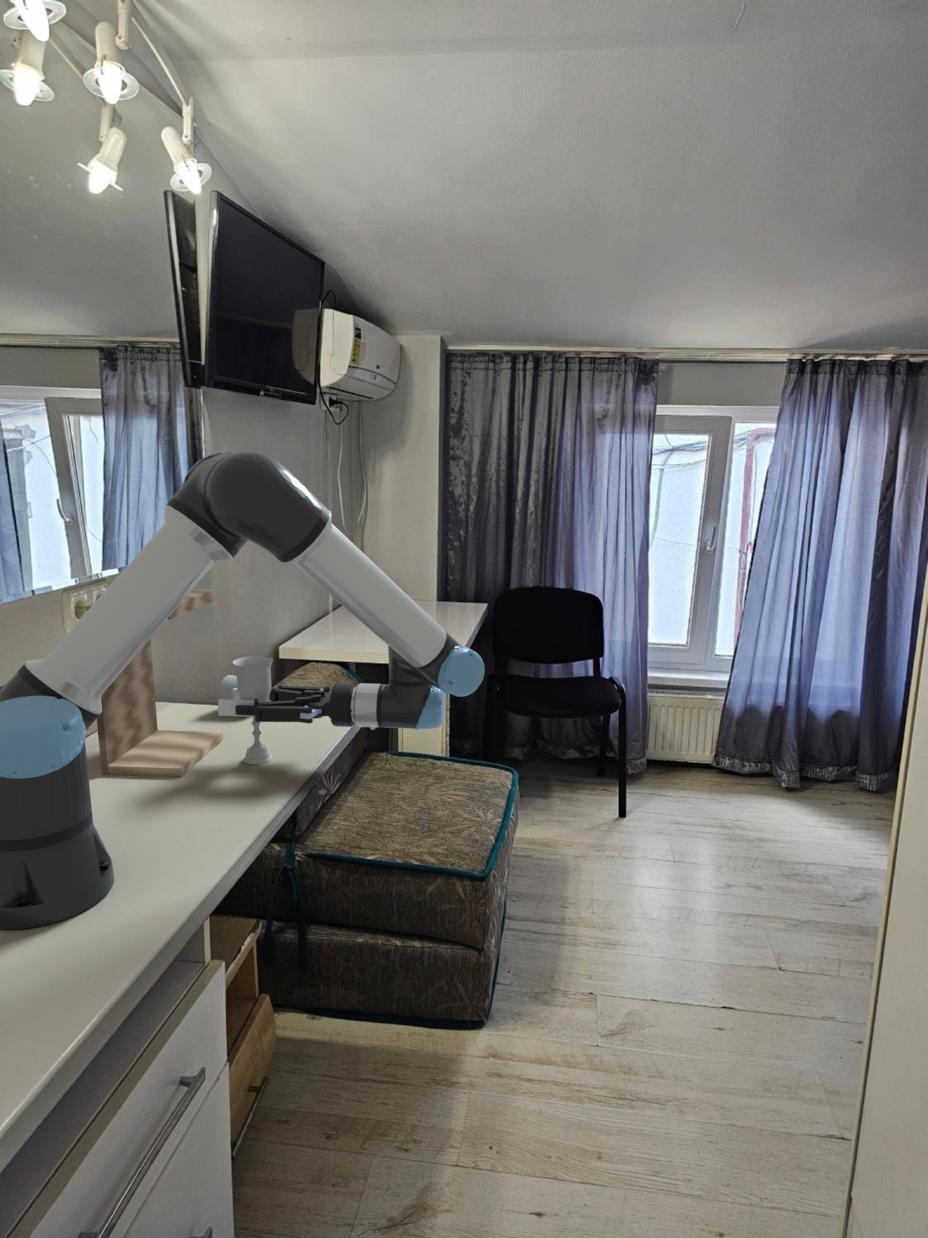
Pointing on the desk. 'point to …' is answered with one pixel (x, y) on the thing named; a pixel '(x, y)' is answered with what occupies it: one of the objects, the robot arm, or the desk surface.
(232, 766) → the desk surface
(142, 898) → the desk surface
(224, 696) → the ceramic mug
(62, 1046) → the desk surface
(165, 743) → the walnut shelf
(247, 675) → the chalice
